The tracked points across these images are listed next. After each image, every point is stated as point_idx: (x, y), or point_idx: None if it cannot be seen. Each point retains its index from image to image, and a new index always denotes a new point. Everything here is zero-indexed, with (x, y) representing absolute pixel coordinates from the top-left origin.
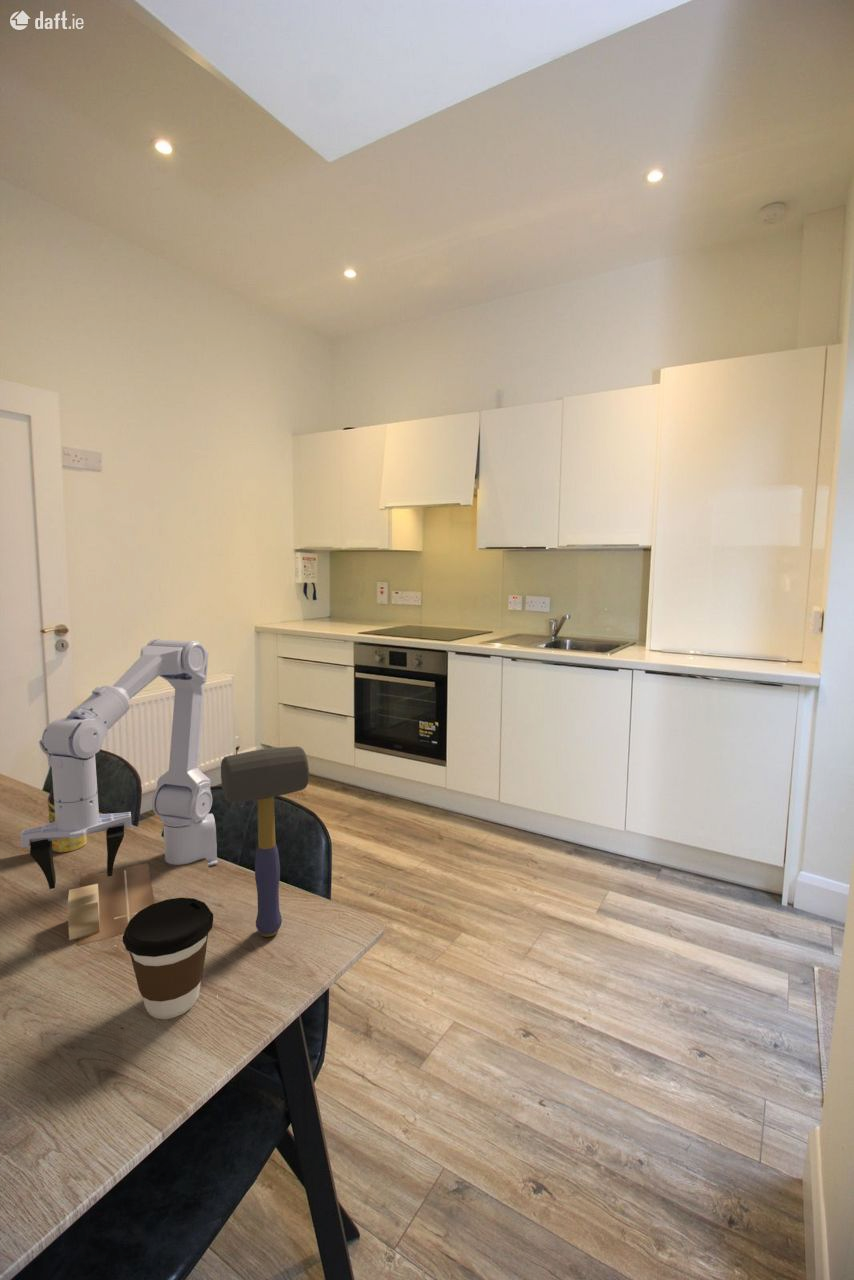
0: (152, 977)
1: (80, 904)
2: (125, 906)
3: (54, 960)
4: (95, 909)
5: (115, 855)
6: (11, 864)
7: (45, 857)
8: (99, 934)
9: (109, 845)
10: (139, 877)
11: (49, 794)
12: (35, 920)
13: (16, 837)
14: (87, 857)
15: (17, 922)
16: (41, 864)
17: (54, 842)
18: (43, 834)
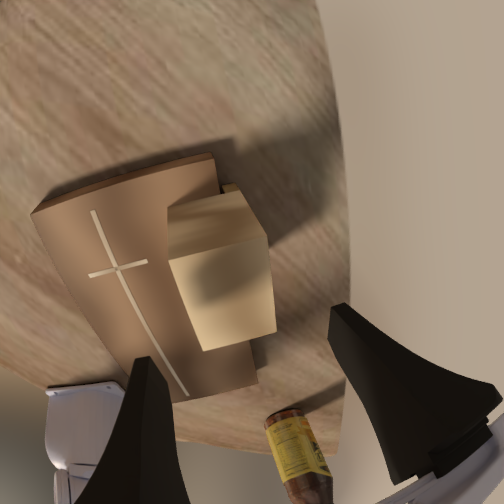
0: None
1: (227, 256)
2: (138, 302)
3: (261, 146)
4: (175, 243)
5: (110, 439)
6: (343, 394)
7: (444, 402)
8: (165, 198)
9: (126, 499)
10: None
11: (332, 485)
12: (315, 294)
13: (336, 422)
14: (259, 413)
15: (341, 292)
16: (434, 371)
17: (307, 427)
18: (485, 493)
